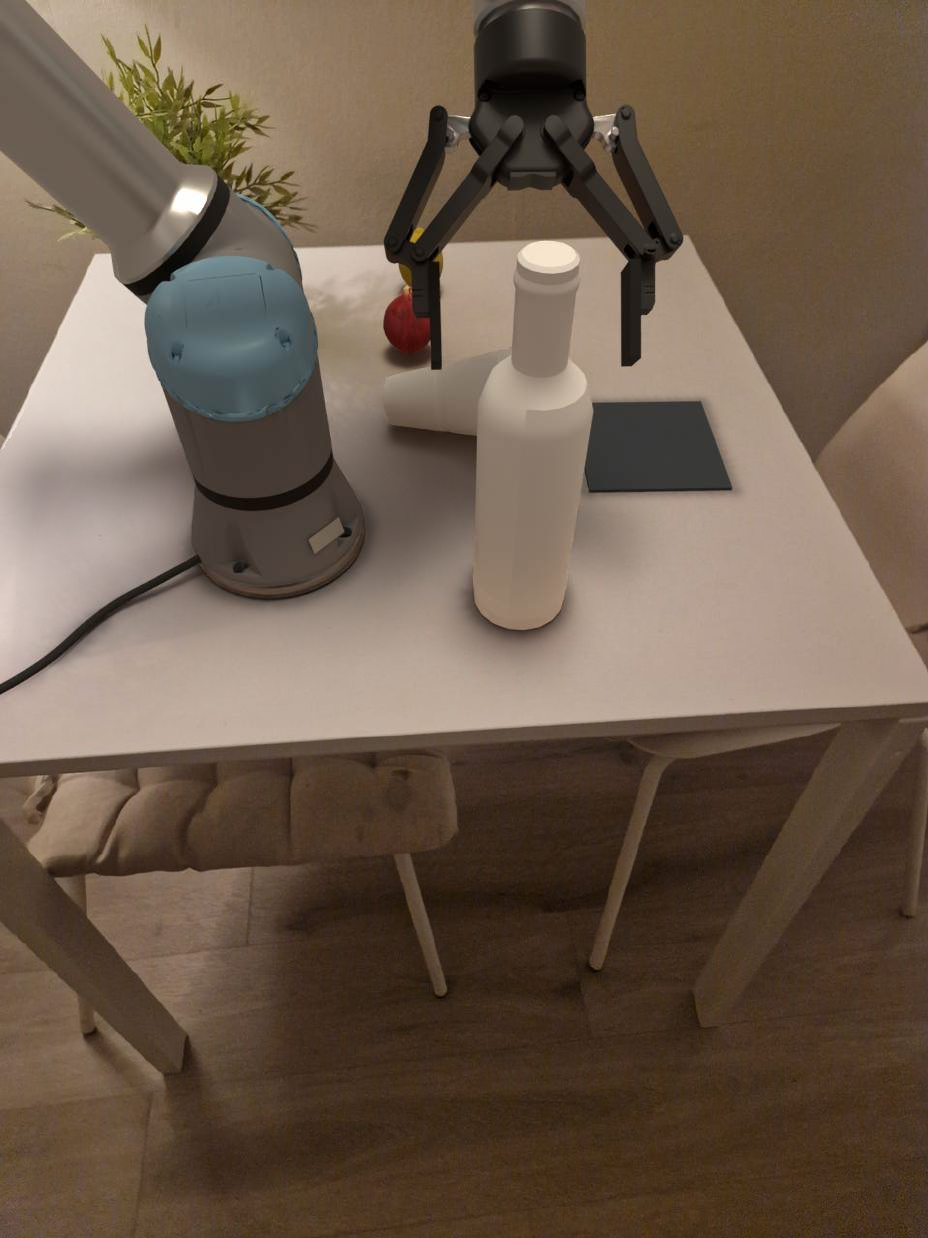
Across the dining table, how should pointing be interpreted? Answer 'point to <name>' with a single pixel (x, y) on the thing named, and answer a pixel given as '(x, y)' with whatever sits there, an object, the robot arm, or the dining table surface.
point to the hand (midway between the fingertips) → (534, 364)
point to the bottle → (531, 449)
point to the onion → (405, 325)
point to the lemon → (405, 271)
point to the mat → (653, 448)
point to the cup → (441, 394)
